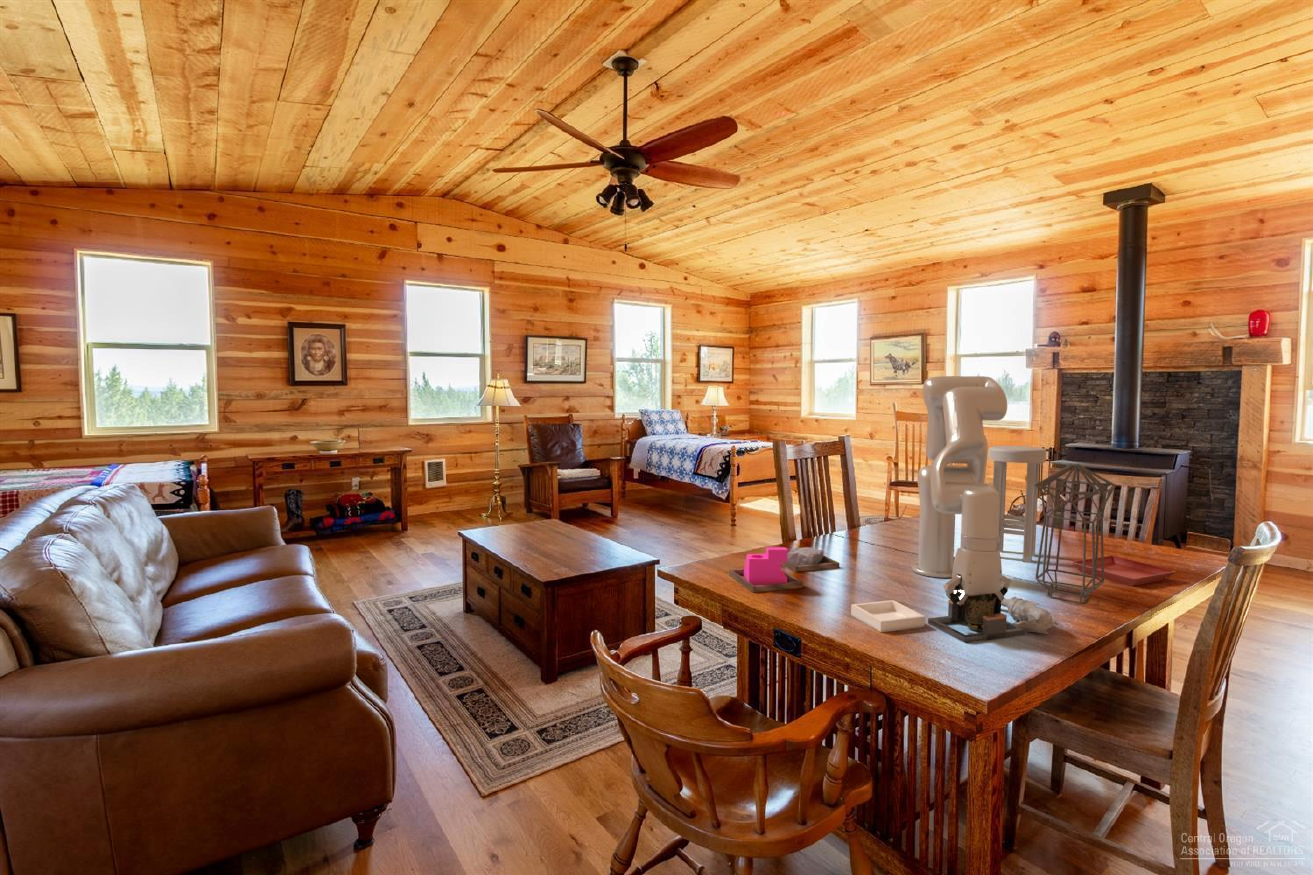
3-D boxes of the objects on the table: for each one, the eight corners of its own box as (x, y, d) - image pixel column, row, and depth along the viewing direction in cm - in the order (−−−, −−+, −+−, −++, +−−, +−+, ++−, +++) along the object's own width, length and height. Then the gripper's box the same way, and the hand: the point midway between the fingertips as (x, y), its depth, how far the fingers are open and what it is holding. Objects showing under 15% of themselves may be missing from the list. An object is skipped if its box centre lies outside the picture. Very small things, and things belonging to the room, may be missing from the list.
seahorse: (960, 607, 157) (1039, 622, 139) (989, 585, 162) (1069, 597, 144) (967, 626, 157) (1047, 644, 139) (995, 603, 162) (1076, 618, 144)
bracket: (787, 587, 175) (787, 549, 174) (748, 586, 175) (749, 549, 174) (779, 574, 187) (779, 539, 186) (743, 574, 187) (744, 539, 186)
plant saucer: (1133, 589, 174) (1134, 577, 174) (1069, 571, 191) (1070, 560, 191) (1176, 582, 181) (1177, 570, 181) (1110, 565, 198) (1111, 555, 198)
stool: (989, 547, 218) (994, 444, 215) (1043, 554, 209) (1048, 447, 206) (981, 557, 206) (986, 448, 203) (1037, 565, 197) (1043, 451, 194)
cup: (998, 636, 141) (1000, 600, 140) (962, 634, 143) (963, 598, 142) (988, 624, 148) (989, 590, 148) (954, 621, 150) (955, 588, 149)
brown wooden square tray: (774, 570, 191) (774, 565, 191) (802, 587, 175) (802, 582, 175) (729, 574, 187) (729, 569, 187) (753, 592, 171) (753, 586, 171)
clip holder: (984, 616, 153) (985, 595, 153) (1026, 634, 142) (1027, 612, 141) (927, 623, 149) (928, 602, 149) (965, 643, 137) (966, 620, 137)
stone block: (782, 569, 197) (814, 568, 192) (780, 553, 198) (811, 551, 192) (796, 562, 207) (826, 560, 202) (793, 547, 208) (824, 545, 202)
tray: (892, 610, 158) (893, 599, 158) (924, 627, 147) (925, 616, 146) (851, 614, 155) (851, 604, 154) (880, 632, 143) (880, 621, 143)
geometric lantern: (1109, 597, 168) (1119, 463, 164) (1096, 613, 156) (1106, 470, 153) (1041, 583, 179) (1048, 457, 175) (1024, 597, 167) (1031, 464, 164)
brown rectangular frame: (811, 554, 210) (811, 549, 210) (839, 567, 194) (839, 562, 194) (770, 557, 206) (770, 552, 206) (795, 571, 190) (795, 566, 190)
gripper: (997, 537, 150) (994, 609, 151) (934, 542, 145) (932, 616, 146) (1024, 544, 143) (1020, 620, 144) (959, 550, 138) (956, 628, 139)
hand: (976, 618), depth 145 cm, fingers open, 9 cm apart
